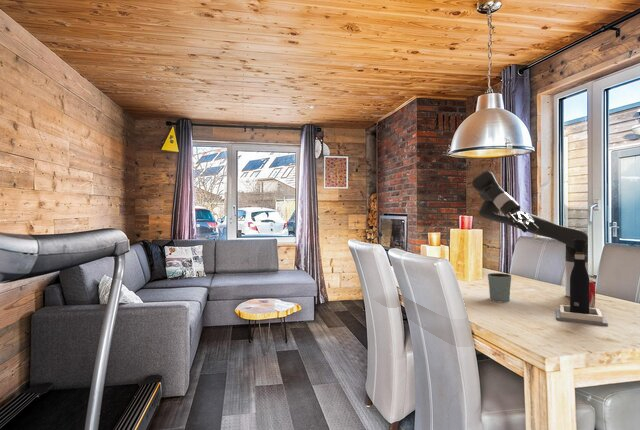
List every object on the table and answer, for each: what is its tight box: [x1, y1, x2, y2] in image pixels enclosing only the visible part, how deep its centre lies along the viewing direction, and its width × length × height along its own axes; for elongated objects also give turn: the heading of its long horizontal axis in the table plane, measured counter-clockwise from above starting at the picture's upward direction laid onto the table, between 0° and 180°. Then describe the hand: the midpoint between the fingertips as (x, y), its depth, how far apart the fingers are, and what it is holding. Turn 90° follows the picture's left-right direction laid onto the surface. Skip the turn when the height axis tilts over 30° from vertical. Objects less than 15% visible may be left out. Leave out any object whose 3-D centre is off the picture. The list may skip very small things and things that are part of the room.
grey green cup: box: [487, 272, 512, 303], centre depth 184 cm, size 10×10×12 cm
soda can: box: [589, 279, 596, 308], centre depth 169 cm, size 7×7×12 cm
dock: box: [555, 304, 609, 327], centre depth 153 cm, size 16×16×3 cm
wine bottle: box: [569, 239, 590, 314], centre depth 153 cm, size 6×6×30 cm
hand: (531, 230), depth 167 cm, fingers open, 8 cm apart
